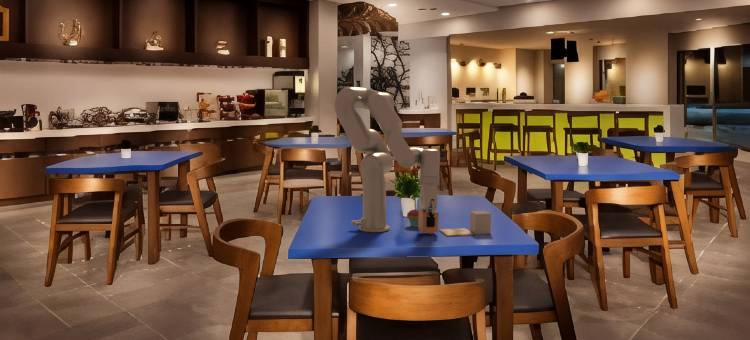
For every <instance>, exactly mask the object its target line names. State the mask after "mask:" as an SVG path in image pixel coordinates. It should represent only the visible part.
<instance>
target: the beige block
mask: <svg viewBox="0 0 750 340" xmlns="http://www.w3.org/2000/svg"><path fill="white" fill-rule="evenodd" d="M491 220H492V213H491V212H490V211H489V212H488V211H486V210H473V211H469V231H470V232H472V233H474V235H485V234H491V231H492V226H491V225H492V221H491Z"/></svg>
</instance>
